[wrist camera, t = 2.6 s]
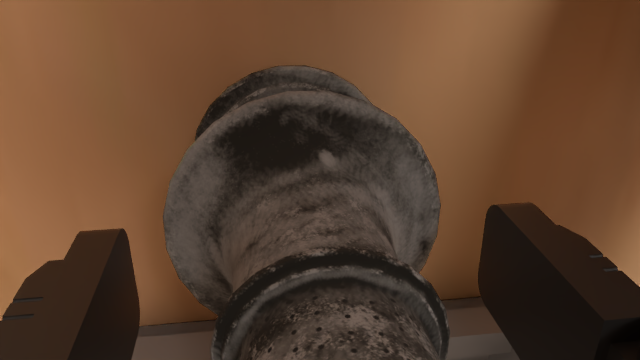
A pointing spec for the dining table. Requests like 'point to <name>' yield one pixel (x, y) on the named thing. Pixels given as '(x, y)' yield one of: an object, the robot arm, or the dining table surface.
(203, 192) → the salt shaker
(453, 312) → the box
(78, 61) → the dining table surface
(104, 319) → the robot arm
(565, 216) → the dining table surface
